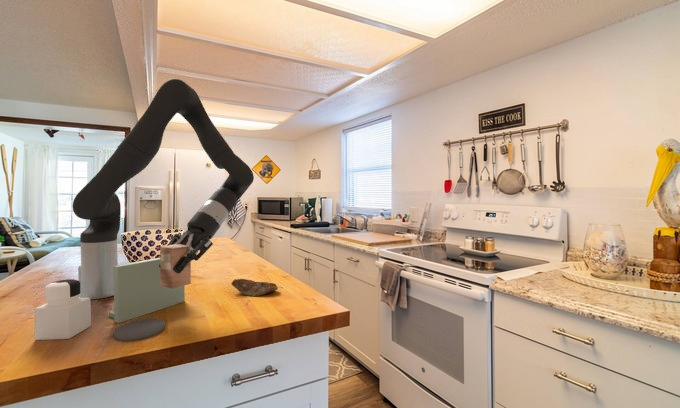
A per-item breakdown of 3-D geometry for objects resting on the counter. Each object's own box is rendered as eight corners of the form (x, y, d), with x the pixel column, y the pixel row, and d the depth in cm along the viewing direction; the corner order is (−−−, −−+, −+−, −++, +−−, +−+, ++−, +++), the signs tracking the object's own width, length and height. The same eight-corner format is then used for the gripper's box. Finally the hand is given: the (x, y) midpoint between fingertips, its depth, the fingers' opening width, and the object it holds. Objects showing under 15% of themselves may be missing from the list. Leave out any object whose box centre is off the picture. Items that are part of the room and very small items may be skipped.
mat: (102, 339, 70) (102, 334, 70) (137, 321, 80) (137, 317, 80) (143, 342, 68) (143, 338, 68) (174, 323, 78) (174, 319, 78)
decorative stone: (240, 272, 109) (282, 279, 108) (239, 285, 110) (281, 292, 108) (228, 279, 100) (273, 287, 98) (226, 293, 100) (272, 301, 98)
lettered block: (159, 285, 81) (159, 246, 80) (178, 280, 85) (178, 243, 85) (171, 289, 78) (171, 248, 78) (190, 283, 83) (190, 245, 82)
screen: (118, 323, 79) (117, 267, 78) (104, 317, 82) (102, 263, 81) (184, 301, 94) (184, 254, 94) (170, 297, 98) (169, 252, 97)
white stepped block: (60, 327, 76) (58, 277, 76) (91, 326, 77) (90, 277, 76) (34, 340, 69) (32, 286, 69) (69, 339, 70) (67, 285, 69)
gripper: (183, 209, 91) (141, 258, 81) (218, 211, 84) (177, 265, 74) (199, 226, 96) (161, 274, 86) (234, 229, 89) (196, 282, 79)
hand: (168, 269), depth 80 cm, fingers closed on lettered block, 5 cm apart
